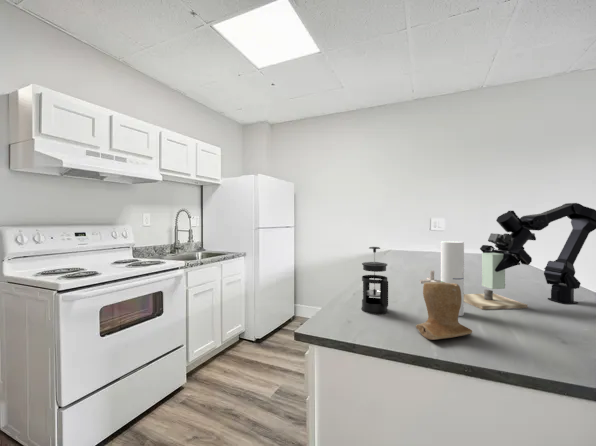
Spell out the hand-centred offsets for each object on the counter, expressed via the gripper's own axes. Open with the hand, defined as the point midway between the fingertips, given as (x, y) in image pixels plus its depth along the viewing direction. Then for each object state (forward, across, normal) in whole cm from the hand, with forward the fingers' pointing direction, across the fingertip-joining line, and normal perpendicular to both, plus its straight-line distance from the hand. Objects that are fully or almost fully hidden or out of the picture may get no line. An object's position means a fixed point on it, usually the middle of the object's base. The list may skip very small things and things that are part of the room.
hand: (490, 269), depth 109 cm
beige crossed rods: (+18, -19, +1) cm, 26 cm away
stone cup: (+35, +23, -16) cm, 45 cm away
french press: (+42, +1, -23) cm, 48 cm away
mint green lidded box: (+4, 0, +6) cm, 7 cm away
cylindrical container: (+24, +7, -5) cm, 25 cm away
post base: (+8, -3, +11) cm, 14 cm away
